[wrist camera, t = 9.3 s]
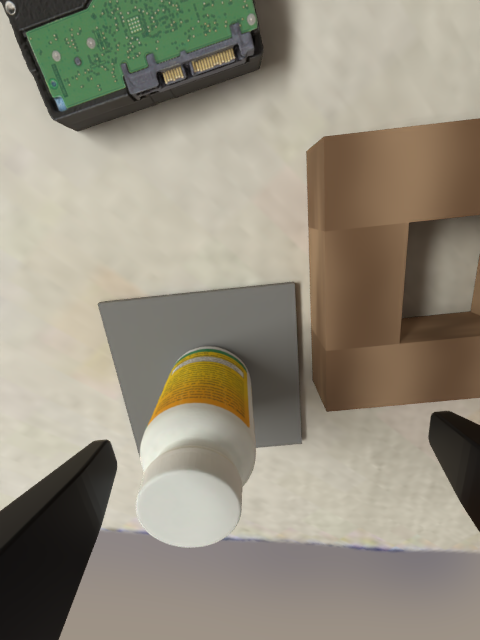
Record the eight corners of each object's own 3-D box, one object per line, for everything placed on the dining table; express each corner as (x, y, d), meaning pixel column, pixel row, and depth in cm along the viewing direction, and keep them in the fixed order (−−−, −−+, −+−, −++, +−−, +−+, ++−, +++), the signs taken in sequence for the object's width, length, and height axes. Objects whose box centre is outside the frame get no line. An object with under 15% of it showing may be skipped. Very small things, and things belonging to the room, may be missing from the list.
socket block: (576, 120, 16) (664, 96, 13) (520, 360, 21) (574, 389, 17) (306, 151, 16) (323, 136, 13) (312, 379, 21) (326, 411, 18)
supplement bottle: (259, 402, 21) (275, 547, 12) (186, 421, 22) (148, 573, 13) (237, 333, 19) (237, 441, 10) (158, 355, 20) (92, 476, 11)
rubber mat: (293, 281, 19) (294, 283, 18) (300, 439, 23) (301, 443, 22) (100, 301, 19) (97, 303, 19) (141, 453, 23) (139, 458, 23)
